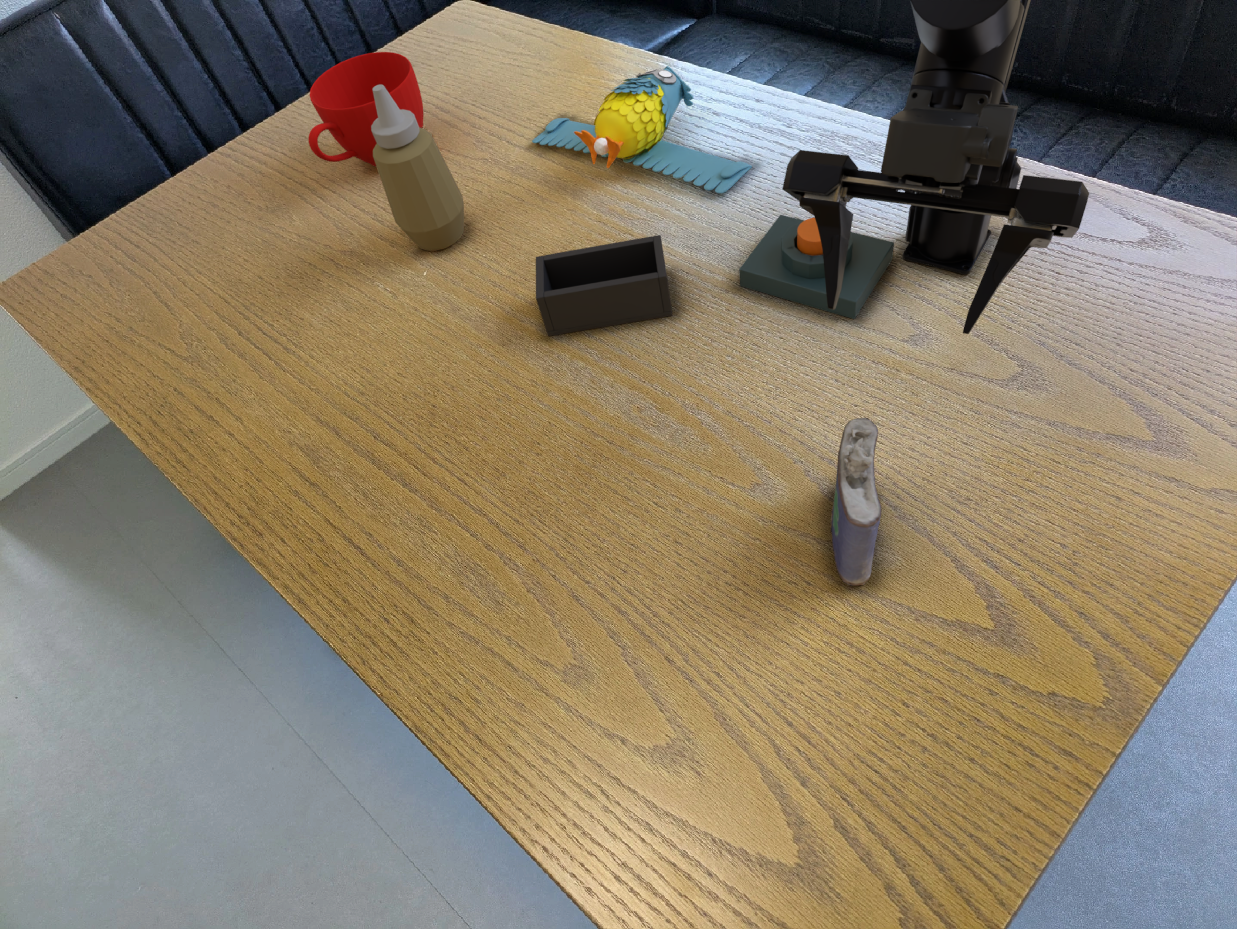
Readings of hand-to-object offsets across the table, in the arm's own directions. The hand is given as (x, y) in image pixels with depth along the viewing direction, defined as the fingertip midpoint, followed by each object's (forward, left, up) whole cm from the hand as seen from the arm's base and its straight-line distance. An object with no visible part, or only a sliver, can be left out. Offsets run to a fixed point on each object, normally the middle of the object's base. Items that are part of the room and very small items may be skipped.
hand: (896, 320), depth 57 cm
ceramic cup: (+73, -16, -14) cm, 76 cm away
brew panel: (+13, -17, -14) cm, 25 cm away
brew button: (+13, -17, -10) cm, 23 cm away
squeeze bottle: (+55, -7, -14) cm, 57 cm away
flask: (-2, +9, -14) cm, 17 cm away
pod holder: (+30, -5, -14) cm, 34 cm away
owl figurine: (+41, -29, -14) cm, 52 cm away
